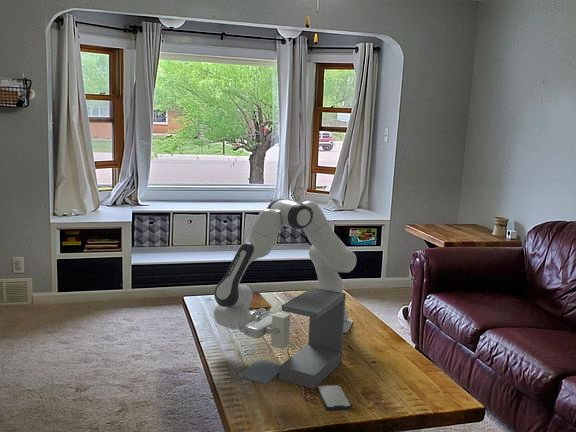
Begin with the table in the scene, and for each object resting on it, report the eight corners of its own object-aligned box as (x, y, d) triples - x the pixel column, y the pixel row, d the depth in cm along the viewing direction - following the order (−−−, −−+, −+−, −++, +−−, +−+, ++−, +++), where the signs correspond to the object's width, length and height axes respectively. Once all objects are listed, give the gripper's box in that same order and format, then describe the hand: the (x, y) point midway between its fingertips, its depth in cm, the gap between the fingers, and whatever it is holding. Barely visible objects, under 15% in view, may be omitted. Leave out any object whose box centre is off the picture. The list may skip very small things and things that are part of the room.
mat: (259, 360, 219) (259, 359, 218) (286, 367, 213) (286, 366, 213) (237, 376, 205) (237, 374, 204) (265, 384, 199) (265, 382, 199)
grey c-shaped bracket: (309, 354, 226) (312, 287, 222) (341, 362, 220) (345, 293, 215) (278, 379, 204) (281, 305, 199) (313, 388, 197) (317, 312, 193)
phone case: (315, 389, 198) (326, 412, 182) (316, 385, 198) (326, 407, 182) (340, 388, 200) (352, 411, 184) (340, 384, 199) (352, 406, 184)
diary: (222, 305, 283) (222, 294, 283) (258, 302, 289) (258, 292, 288) (232, 320, 262) (232, 308, 261) (271, 317, 268) (271, 306, 267)
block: (277, 341, 218) (278, 311, 216) (288, 344, 215) (290, 314, 213) (271, 345, 213) (272, 315, 211) (282, 348, 211) (283, 318, 209)
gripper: (237, 322, 209) (269, 329, 203) (264, 307, 227) (294, 313, 221) (236, 338, 210) (269, 346, 204) (263, 321, 228) (294, 328, 222)
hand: (282, 329), depth 213 cm, fingers closed on block, 5 cm apart
